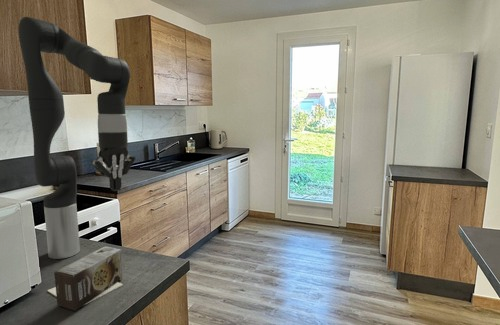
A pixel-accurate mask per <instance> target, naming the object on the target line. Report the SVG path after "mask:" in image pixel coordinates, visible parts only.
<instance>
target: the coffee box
mask: <svg viewBox="0 0 500 325" xmlns="http://www.w3.org/2000/svg"><path fill="white" fill-rule="evenodd" d="M53 275H54V283H55V284H54V285H55V287H56V295H57V297H56V305H57V306H60V307H63V308H65V309H69V310H72V311H78V310H79V309H80V308H82V307H83V305H84V304H86V303H87V302H89V301H90V300H92V299H93V298H95V297H96V296H97V295H99V294H100V293H102V292H103V291H105V290H106V289H107V288H109V287H110V286H112V285H113V284H115V283H116V282H120V280H122V279H123V277H124V276H123V262H122V249H120V248H115V247H110V246H103V247H101V248H99V249H97V250H95V251H93V252H91V253H89V254H87V255H85V256H83V257H81V258H80V259H78V260H75V261H74V262H71V263H70V264H67V265H66V266H63V267H61V268H60V269H58V270H56V271H54V272H53ZM89 303H90V302H89ZM87 304H88V303H87ZM87 304H86V305H87ZM84 306H85V305H84Z"/></svg>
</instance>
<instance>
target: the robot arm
mask: <svg viewBox="0 0 500 325" xmlns="http://www.w3.org/2000/svg"><path fill="white" fill-rule="evenodd" d="M17 33H18V40H19V45H20V50H21V55H22V59H23V64H24V69H25V74H26V75H25V76H26V84H27V95H28V98H27V99H28V106H29V114H30V121H31V128H32V138H33V165H34V167H33V168H34V175H35V176H34V177H35V180H36V182H37V184H38V185H39V186H40V187H42V188H43V187H52V186H58V185H59V186H58V188H57V189H55V190H54V191H53V192H51V193H49V194H48V195H46V196H45V197H44V198H43V210H44V211H43V212H44V220H45V222H44V223H45V233H46V243H47V245H46V246H47V253H48V254H47V256H48V258H50V259H51V260H52V259H53V260H58V259H59V260H61V259H66V258H70V257H73V256H75V255H78V253H79V252H80V250H81V248H80V235H79V234H80V233H79V222H78V221H79V220H78V208H77V195H78V189H77V188H78V183H77V181H78V180H77V179H78V178H77V177H78V176H77V175H78V172H77V166H76V162H75V160H74V158H73V157H72V156H70V155H58V156H57V155H56V156H51V144H52V141H53V139H54V137H55V134H56V133H57V132H58V130H59V128H60V126H61V125H62V123H63V121H64V119H65V112H66V111H65V104H64V96H63V93H62V91H61V89H60V88H59V86H58V84H57V83H56V82H55V80H54V78H53V77H51V75H50V74H49V72H48V71H47V69H46V66H45V64H44V61H43V57H42V53H41V52H43V53H47V54H58V55H62V56H65V59H66V60H67V61H68V62H69V63H70V64H71V65H73V66H74V67H76V68H77V69H80V70H81V71H83V72H84V73H85V74H86V75H87V76H88V77H89V78H90V79H92V80H93V81H96V82H99V83H102V84H103V83H104V84H110V85H109V89H108V91H104V92H99V93H98V95H97V98H96V99H97V101H96V102H97V113H98V115H97V136H98V138H97V139H98V147H99V152H98V157H97V158H96V159H93V160H91V161H90V163H91V165H92V166H93V167H94V168H95V169H96V171H98V172H99V174H100V175H101V176H102V177H104V178H106V177H107V178H108V179H109V180H108V181H109V188H110V190H111V191H113V192H117V191H120V190H121V188H122V177H123V176H125V175H127V174H128V172H129V171H130V169H131V168H132V165H133V164H134V162H135V161H136V157H135V156H132V155H130V154H129V151H128V145H129V144H128V143H129V142H128V124H127V116H126V96H127V92H128V87H129V84H130V79H131V70H130V66H129V65H128V63H127V62H126V61H125V60H124V59H122V58H117V57H113V56H112V57H111V56H108V55H103V54H102V53H101V51H99V50H97V49H96V48H94V47H92V46H90V45H88V44H86V43H84V42H82V41H79V40H77V39H76V38H74V37H73V36H72V35H70V34H69V33H67V32H66V31H65V30H64V29H63V28H62V27H60V26H59V25H57V24H55V23H53V22H49V21H46V20H43V19H39V18H35V17H30V16H23V17H21V19H20V20H19V23H18V32H17ZM104 165H105V166H104Z"/></svg>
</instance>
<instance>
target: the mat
mask: <svg viewBox="0 0 500 325" xmlns="http://www.w3.org/2000/svg"><path fill="white" fill-rule="evenodd" d="M123 286H124V284H123V283H121V282H120V281H118V282H116V283H115V284H113V285H112V286H110V287H109V288H107V289H106V290H105V291H103V292H102V293H100V294H99V295H97V296H96V297H95V298H93V299H92V300H90V301H89V302H87V303H86V304H84V305H83V306H86V305H87V304H89V303H92V302H93V301H95V300H97V299H99V298H101V297H104V296H105V295H108V294H109V293H111V292H113V291H115V290H116V289H118V288H121V287H123ZM47 292H48V293H50V294H51V295H53V296H54V297H55V298H57V295H56V286H54V287H53V288H49V289H47ZM83 306H82V307H83Z"/></svg>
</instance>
